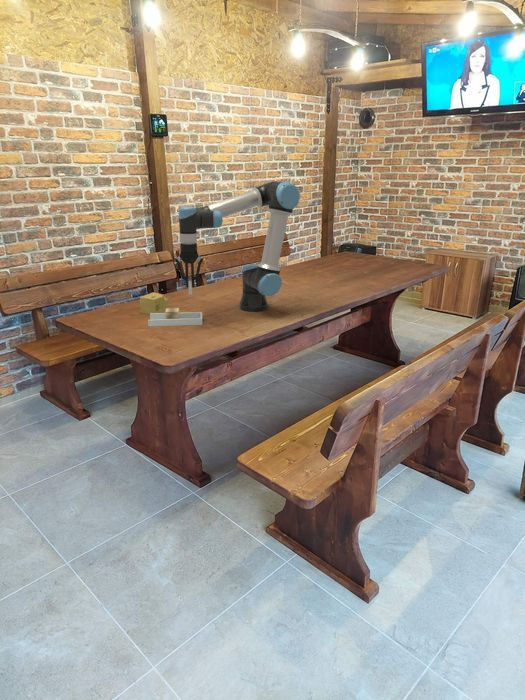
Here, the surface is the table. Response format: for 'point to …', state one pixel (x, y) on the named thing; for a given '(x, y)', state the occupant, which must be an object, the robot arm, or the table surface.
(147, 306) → the cheese
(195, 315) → the channel
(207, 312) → the table surface
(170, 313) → the block
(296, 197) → the robot arm
